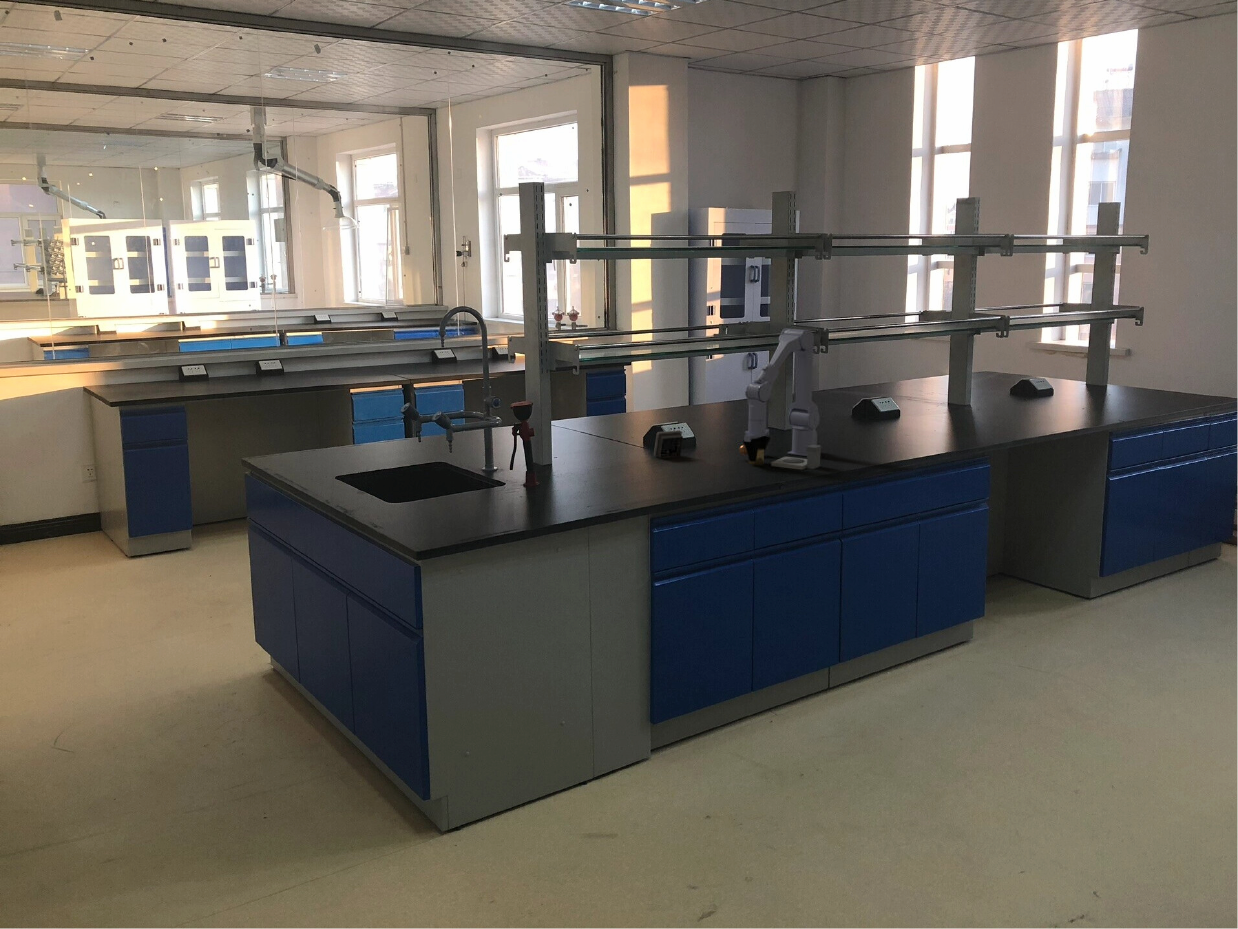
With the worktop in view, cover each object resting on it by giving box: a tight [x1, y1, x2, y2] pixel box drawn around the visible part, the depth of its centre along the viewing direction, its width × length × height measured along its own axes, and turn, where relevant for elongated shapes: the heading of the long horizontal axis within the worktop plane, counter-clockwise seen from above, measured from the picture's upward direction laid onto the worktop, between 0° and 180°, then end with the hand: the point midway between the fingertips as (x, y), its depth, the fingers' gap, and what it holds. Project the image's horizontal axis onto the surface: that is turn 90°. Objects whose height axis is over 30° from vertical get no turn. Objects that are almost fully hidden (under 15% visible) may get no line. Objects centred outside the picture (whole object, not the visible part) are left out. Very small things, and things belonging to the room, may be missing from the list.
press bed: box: [770, 444, 822, 471], centre depth 335 cm, size 11×14×7 cm
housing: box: [748, 448, 765, 466], centre depth 337 cm, size 5×5×6 cm
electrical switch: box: [653, 429, 684, 459], centre depth 348 cm, size 9×5×9 cm, turn 113°
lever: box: [738, 444, 748, 456], centre depth 345 cm, size 10×4×4 cm, turn 146°
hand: (756, 459), depth 337 cm, fingers closed on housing, 5 cm apart
